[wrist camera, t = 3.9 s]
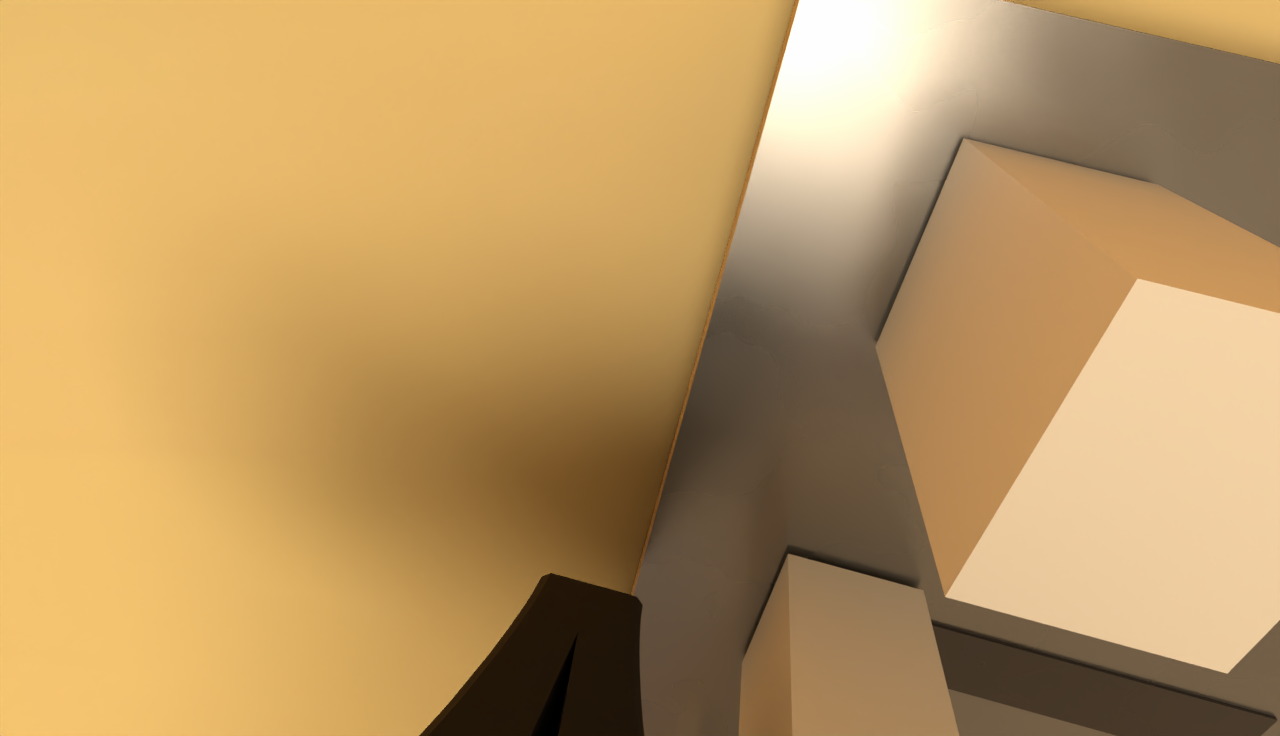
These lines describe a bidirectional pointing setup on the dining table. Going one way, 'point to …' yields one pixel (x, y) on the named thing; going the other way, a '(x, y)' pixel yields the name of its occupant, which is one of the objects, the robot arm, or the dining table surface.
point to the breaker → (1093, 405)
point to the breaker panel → (853, 321)
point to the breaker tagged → (843, 659)
